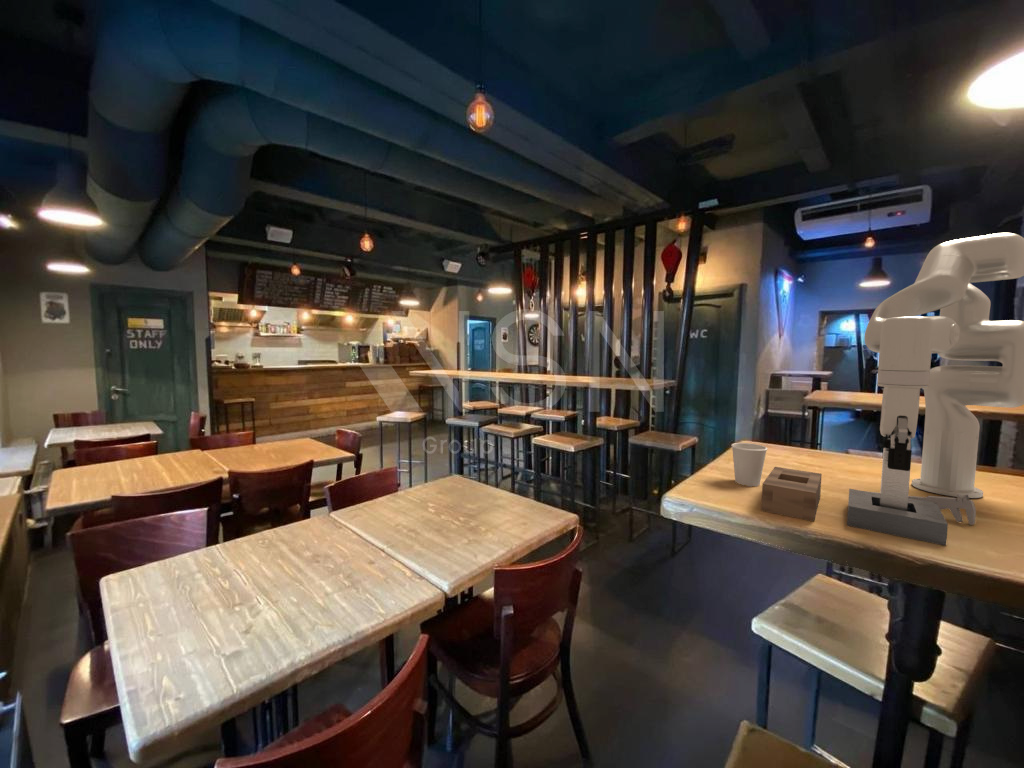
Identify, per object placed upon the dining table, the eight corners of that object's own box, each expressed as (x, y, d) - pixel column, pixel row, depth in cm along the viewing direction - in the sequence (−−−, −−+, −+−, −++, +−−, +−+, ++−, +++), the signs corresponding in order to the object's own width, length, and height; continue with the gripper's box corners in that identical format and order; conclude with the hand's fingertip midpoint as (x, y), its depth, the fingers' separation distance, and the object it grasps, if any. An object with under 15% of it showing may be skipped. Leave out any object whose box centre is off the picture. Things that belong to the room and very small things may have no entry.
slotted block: (773, 489, 106) (774, 466, 106) (820, 498, 100) (821, 473, 100) (761, 510, 92) (762, 483, 92) (814, 521, 86) (815, 493, 86)
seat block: (848, 505, 96) (849, 488, 95) (934, 521, 87) (936, 502, 86) (846, 525, 85) (848, 505, 84) (946, 545, 76) (947, 524, 76)
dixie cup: (736, 487, 108) (738, 448, 108) (725, 477, 117) (726, 442, 116) (771, 489, 107) (773, 450, 106) (757, 479, 115) (759, 443, 115)
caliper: (974, 526, 85) (977, 496, 85) (972, 527, 85) (975, 496, 84) (858, 495, 104) (859, 470, 103) (855, 495, 103) (857, 470, 103)
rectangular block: (878, 513, 88) (883, 447, 87) (904, 518, 86) (910, 450, 85) (879, 519, 85) (884, 451, 84) (905, 524, 83) (911, 454, 82)
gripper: (876, 376, 93) (871, 452, 94) (879, 381, 79) (873, 470, 81) (923, 377, 88) (917, 458, 89) (935, 383, 75) (928, 478, 76)
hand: (896, 463), depth 85 cm, fingers open, 9 cm apart
